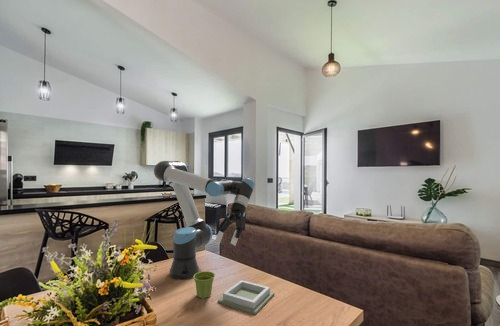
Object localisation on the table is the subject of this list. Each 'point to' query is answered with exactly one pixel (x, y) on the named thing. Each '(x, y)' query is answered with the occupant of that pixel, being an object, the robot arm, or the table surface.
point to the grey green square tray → (247, 296)
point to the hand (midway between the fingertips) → (224, 244)
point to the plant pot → (204, 283)
